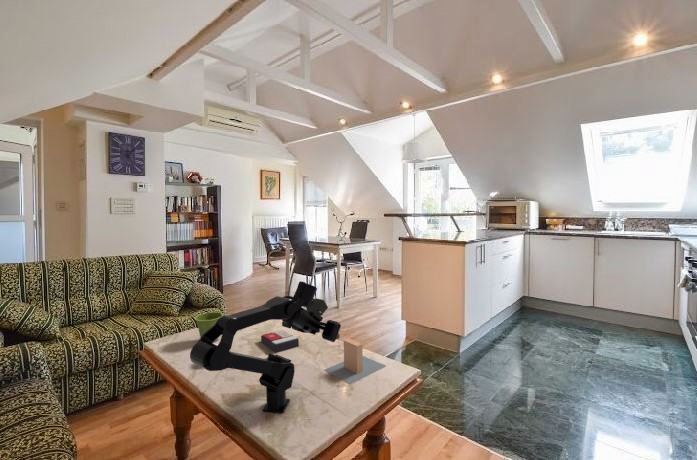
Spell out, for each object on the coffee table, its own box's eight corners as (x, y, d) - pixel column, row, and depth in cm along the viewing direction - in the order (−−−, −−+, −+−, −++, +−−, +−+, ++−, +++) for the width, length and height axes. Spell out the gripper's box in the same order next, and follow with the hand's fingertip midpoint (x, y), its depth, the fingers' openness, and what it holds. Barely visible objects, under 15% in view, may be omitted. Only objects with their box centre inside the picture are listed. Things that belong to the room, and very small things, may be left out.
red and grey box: (283, 328, 158) (298, 336, 146) (283, 337, 158) (299, 346, 146) (260, 334, 151) (274, 343, 139) (260, 343, 152) (275, 353, 140)
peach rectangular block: (357, 373, 121) (357, 346, 120) (344, 366, 126) (343, 340, 125) (362, 370, 123) (362, 343, 122) (349, 364, 128) (349, 338, 127)
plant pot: (191, 340, 154) (190, 316, 153) (217, 333, 162) (217, 310, 161) (200, 348, 145) (199, 322, 144) (228, 340, 153) (227, 316, 152)
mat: (350, 385, 114) (350, 384, 114) (323, 370, 124) (323, 369, 124) (386, 367, 126) (386, 366, 126) (359, 355, 137) (359, 354, 137)
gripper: (333, 299, 107) (358, 317, 118) (292, 291, 119) (318, 307, 129) (319, 334, 103) (346, 349, 113) (278, 321, 114) (306, 336, 125)
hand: (328, 334), depth 120 cm, fingers open, 9 cm apart
